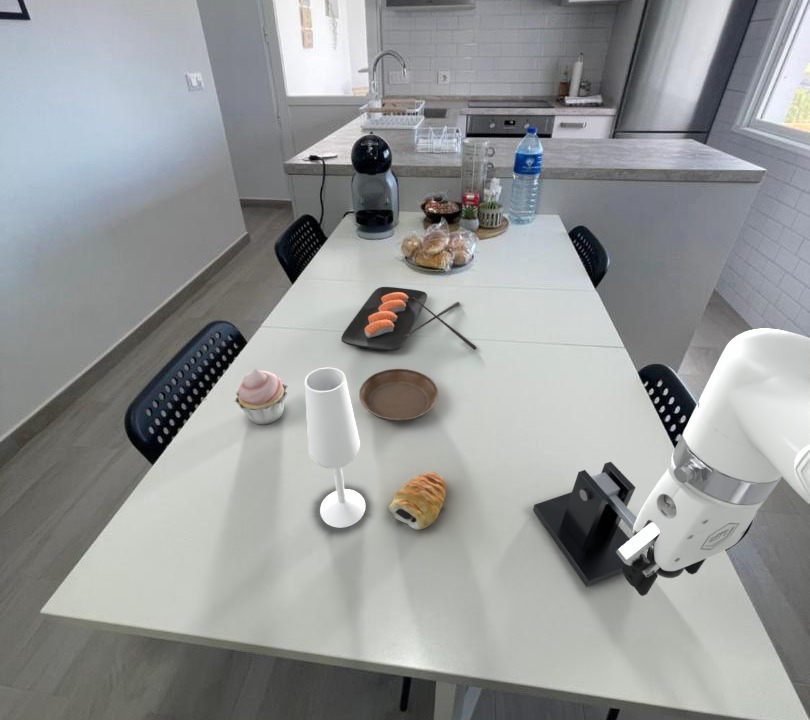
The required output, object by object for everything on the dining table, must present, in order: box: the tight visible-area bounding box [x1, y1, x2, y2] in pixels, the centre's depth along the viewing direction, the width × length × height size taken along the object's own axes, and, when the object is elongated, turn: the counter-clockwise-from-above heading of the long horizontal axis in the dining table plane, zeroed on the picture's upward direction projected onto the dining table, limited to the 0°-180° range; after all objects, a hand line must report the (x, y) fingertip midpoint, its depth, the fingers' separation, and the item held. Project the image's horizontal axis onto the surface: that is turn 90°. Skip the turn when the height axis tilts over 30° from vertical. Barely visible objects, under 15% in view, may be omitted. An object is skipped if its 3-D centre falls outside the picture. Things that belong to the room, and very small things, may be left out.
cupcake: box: [234, 368, 289, 425], centre depth 80 cm, size 9×9×10 cm
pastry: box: [388, 472, 448, 531], centre depth 65 cm, size 9×7×4 cm
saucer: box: [358, 368, 439, 423], centre depth 84 cm, size 15×15×3 cm
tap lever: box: [591, 472, 685, 579], centre depth 52 cm, size 13×4×4 cm, turn 20°
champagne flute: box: [304, 366, 367, 529], centre depth 59 cm, size 7×7×24 cm
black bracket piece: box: [532, 461, 636, 587], centre depth 58 cm, size 12×9×12 cm
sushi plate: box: [340, 286, 477, 352], centre depth 107 cm, size 29×30×4 cm
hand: (658, 571), depth 50 cm, fingers open, 6 cm apart
